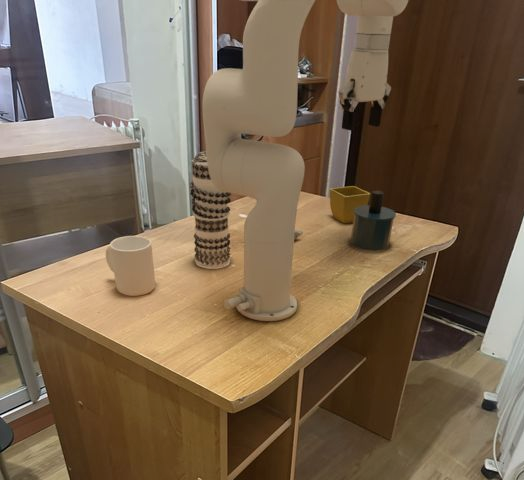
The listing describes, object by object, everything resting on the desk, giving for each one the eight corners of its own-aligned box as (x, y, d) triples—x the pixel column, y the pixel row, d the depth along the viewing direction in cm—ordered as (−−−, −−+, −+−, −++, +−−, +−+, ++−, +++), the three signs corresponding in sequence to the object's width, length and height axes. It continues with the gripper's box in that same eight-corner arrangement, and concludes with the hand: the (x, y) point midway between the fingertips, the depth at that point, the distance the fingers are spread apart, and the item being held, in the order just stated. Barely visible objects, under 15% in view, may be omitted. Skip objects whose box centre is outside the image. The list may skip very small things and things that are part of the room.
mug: (96, 285, 107) (88, 240, 101) (124, 272, 113) (118, 229, 107) (136, 300, 102) (130, 254, 96) (163, 286, 108) (159, 241, 102)
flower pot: (325, 218, 148) (329, 188, 143) (350, 214, 151) (354, 185, 146) (341, 227, 141) (345, 196, 136) (366, 224, 145) (371, 193, 140)
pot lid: (376, 226, 120) (381, 201, 117) (344, 214, 127) (347, 190, 124) (403, 217, 126) (408, 194, 123) (371, 206, 133) (374, 184, 130)
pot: (371, 255, 125) (377, 223, 121) (342, 243, 132) (346, 212, 127) (395, 246, 131) (402, 215, 126) (367, 235, 137) (371, 205, 132)
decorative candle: (222, 251, 124) (221, 147, 110) (237, 265, 118) (238, 156, 104) (188, 257, 121) (182, 150, 107) (202, 272, 114) (197, 160, 100)
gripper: (383, 43, 116) (371, 122, 125) (332, 43, 106) (324, 128, 116) (409, 45, 111) (395, 126, 121) (359, 45, 102) (348, 133, 111)
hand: (360, 127), depth 118 cm, fingers open, 9 cm apart
